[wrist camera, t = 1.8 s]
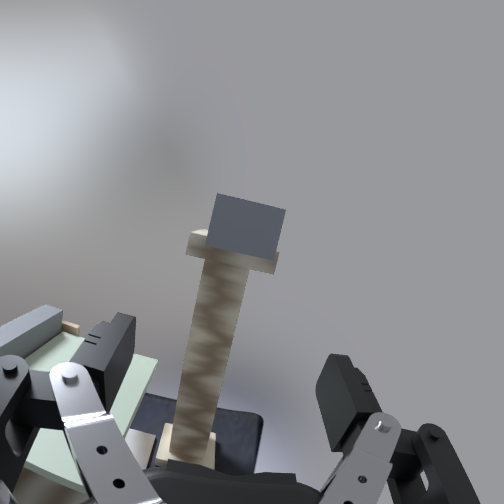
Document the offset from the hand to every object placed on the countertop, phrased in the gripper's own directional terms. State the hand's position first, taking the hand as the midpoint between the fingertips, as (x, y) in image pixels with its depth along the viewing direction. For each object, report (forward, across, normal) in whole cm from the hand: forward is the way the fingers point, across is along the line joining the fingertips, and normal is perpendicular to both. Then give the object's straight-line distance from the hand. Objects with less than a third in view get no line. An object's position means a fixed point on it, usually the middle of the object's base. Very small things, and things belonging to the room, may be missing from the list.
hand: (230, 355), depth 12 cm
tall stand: (+16, 0, +33) cm, 37 cm away
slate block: (+19, 0, +1) cm, 19 cm away
